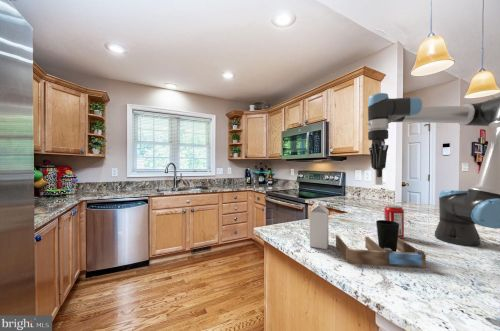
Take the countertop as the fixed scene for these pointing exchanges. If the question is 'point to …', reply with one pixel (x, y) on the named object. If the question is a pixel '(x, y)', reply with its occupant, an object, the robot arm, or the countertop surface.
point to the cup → (387, 234)
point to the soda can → (395, 217)
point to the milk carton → (319, 227)
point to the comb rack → (383, 254)
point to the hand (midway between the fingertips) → (378, 184)
